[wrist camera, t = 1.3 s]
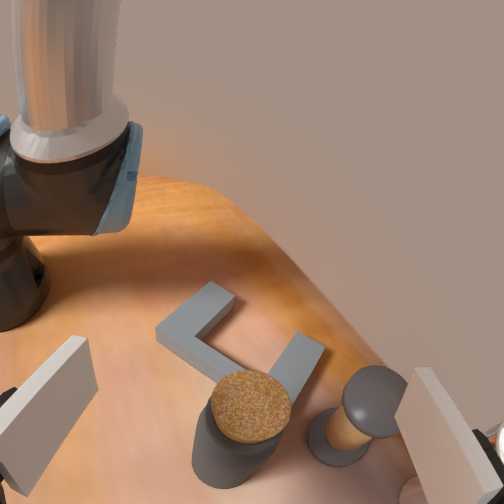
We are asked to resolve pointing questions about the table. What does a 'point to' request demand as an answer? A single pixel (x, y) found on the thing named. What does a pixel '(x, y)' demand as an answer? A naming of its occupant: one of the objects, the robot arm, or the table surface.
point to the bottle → (239, 428)
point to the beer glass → (412, 491)
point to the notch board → (215, 364)
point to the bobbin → (358, 417)
